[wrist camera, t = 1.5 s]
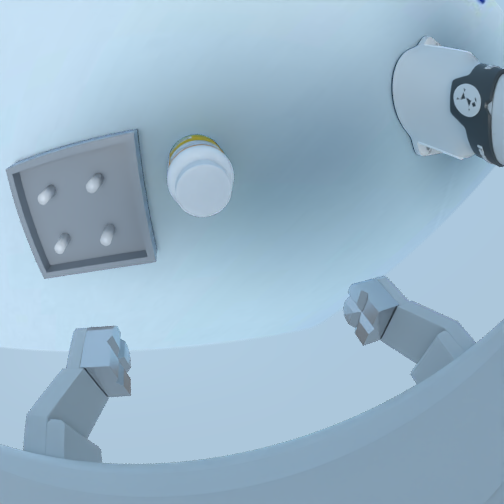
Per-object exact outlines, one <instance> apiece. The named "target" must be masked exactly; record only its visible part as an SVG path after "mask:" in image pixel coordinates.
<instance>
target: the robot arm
mask: <svg viewBox="0 0 504 504" xmlns="http://www.w3.org/2000/svg"><path fill="white" fill-rule="evenodd" d="M393 100H394V105H395V109H396V112H397V115H398V118H399V120H400V122H401V124H402V126H403V127H404V129H405V130H406V131H407V133H408V134H409V135H410V137H411V139H412V143H413V147H414V150H415V152H416V154H417V155H420V156H428V155H434V154H440V153H445V154H447V155H450V156H452V157H455V158H457V159H460V160H463V158H469V157H471V156H473V155H477V156H478V157H480V158H482V159H484V160H485V161H487V162H489V163H491V164H495V165H497V166H499V167H503V166H504V69H502V68H500V67H498V66H494V65H486V64H481V63H480V62H479V61H478V59H477V58H476V57H475V56H473V54H472V53H471V52H469V51H465V50H460V49H455V48H449V47H443V46H441V45H440V44H439V43H438V42H437V41H436V40H435V39H433V38H432V37H427V36H424V37H423V38H422V39H421V41H420V42H419V44H418V45H417V46H416V47H414V48H411V49H409V50H407V51H406V52H405V53H404V54H403V55H402V56H401V57H400V59H399V60H398V62H397V65H396V68H395V71H394V76H393ZM348 294H349V295H350V296H349V297H348V298H347V300H346V301H345V303H344V307H343V310H344V316H345V318H346V321H347V322H348V324H349V325H351V326H353V327H355V334H356V335H357V337H358V338H359V340H360V341H361V343H362V344H363V346H364V345H366V344H369V343H372V342H375V341H378V340H381V341H382V342H384V343H385V344H387V345H388V346H390V347H391V348H393V349H395V350H396V351H398V352H399V353H401V354H402V355H404V356H405V357H407V358H409V359H410V360H412V361H413V362H415V363H416V364H417V365H416V366H415V367H414V368H413V370H412V371H411V376H412V378H413V379H414V381H415V382H416V384H417V385H415V386H413V387H412V388H410V389H408V390H406V391H404V392H403V393H401V394H399V395H397V396H395V397H394V398H392V399H390V400H388V401H386V402H384V403H382V404H380V405H378V406H376V407H374V408H372V409H370V410H368V411H366V412H363V413H361V414H359V415H357V416H355V417H352V418H350V419H348V420H345V421H343V422H341V423H338V424H335V425H333V426H330V427H328V428H325V429H322V430H320V431H317V432H314V433H311V434H308V435H305V436H302V437H299V438H296V439H293V440H290V441H286V442H283V443H279V444H276V445H272V446H268V447H264V448H261V449H256V450H252V451H247V452H243V453H238V454H232V455H227V456H222V457H215V458H209V459H201V460H193V461H184V462H172V463H156V464H112V463H102V457H101V449H100V448H99V447H98V446H97V445H95V444H94V443H92V442H91V441H89V440H88V437H89V434H90V433H91V431H92V428H93V427H94V425H95V423H96V421H97V419H98V417H99V415H100V414H101V412H102V410H103V408H104V406H105V404H106V402H107V401H108V397H119V396H130V395H131V379H130V377H129V376H128V374H127V372H128V371H129V369H130V368H131V360H130V353H129V350H128V346H127V344H126V342H125V341H123V340H122V339H120V336H121V332H120V331H119V329H118V327H117V326H105V327H90V328H78V329H75V331H74V332H73V336H72V341H71V345H70V350H69V355H68V361H67V366H66V369H62V370H61V371H60V372H59V374H58V375H57V376H56V377H55V379H54V380H53V381H52V382H51V384H50V385H49V386H48V387H47V389H46V390H45V391H44V392H43V394H42V395H41V396H40V398H39V399H38V400H37V401H36V403H35V404H34V406H33V407H32V408H31V409H30V411H29V412H28V414H27V416H26V424H25V433H24V446H23V447H24V448H23V450H19V449H16V448H12V447H9V446H5V445H2V444H0V504H504V319H503V320H502V321H501V322H500V323H499V324H498V325H497V326H495V327H494V328H493V329H492V330H491V331H490V332H489V333H487V334H486V335H485V336H484V337H483V338H482V339H480V340H479V341H478V342H477V343H476V342H475V341H474V340H473V338H472V337H471V336H470V335H469V334H468V332H467V331H466V330H465V329H464V328H463V327H462V325H461V324H460V323H459V322H458V321H456V320H454V319H452V318H449V317H447V316H445V315H443V314H440V313H438V312H436V311H434V310H432V309H429V308H427V307H425V306H423V305H421V304H419V303H416V302H414V301H409V300H408V299H407V298H406V297H405V296H404V295H403V294H402V293H401V292H400V290H399V289H398V288H397V287H396V286H395V285H394V284H393V283H392V282H391V281H390V280H389V279H388V278H387V277H385V276H381V277H377V278H373V279H369V280H365V281H362V282H358V283H354V284H352V285H351V286H350V287H349V290H348Z"/></svg>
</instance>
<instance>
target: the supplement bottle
mask: <svg viewBox="0 0 504 504" xmlns="http://www.w3.org/2000/svg"><path fill="white" fill-rule="evenodd" d="M233 183H234V171H233V167H232V164H231V162H230V161H229V159H228V158H227V156H226V155H225V154H224V152H223V151H222V150H221V149H220V147H219V146H218V145H217V144H216V143H215V142H214V141H213V140H212V139H210V138H209V137H206V136H204V135H198V134H195V135H189V136H186V137H184V138H182V139H180V140H179V141H178V142H177V143H176V144H175V145H174V146H173V148H172V150H171V152H170V155H169V160H168V170H167V186H168V189H169V192H170V194H171V196H172V197H173V199H174V200H175V201H176V202H177V203H178V204H179V206H180V207H181V208H182V209H183V210H184V211H185V212H186V213H188V214H190V215H192V216H195V217H209V216H212V215H215V214H217V213H219V212H220V211H221V210H223V209H224V208H225V206H226V205H227V204H228V202H229V200H230V198H231V194H232V187H233Z"/></svg>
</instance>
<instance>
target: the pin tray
mask: <svg viewBox="0 0 504 504" xmlns="http://www.w3.org/2000/svg"><path fill="white" fill-rule="evenodd" d="M6 173H7V177H8V181H9V185H10V189H11V192H12V196H13V199H14V203H15V206H16V209H17V212H18V215H19V218H20V221H21V224H22V227H23V230H24V232H25V235H26V238H27V240H28V243H29V245H30V248H31V250H32V253H33V255H34V257H35V260H36V262H37V264H38V266H39V269H40V271H41V273H42V275H43V277H44V279H46V278H53V277H59V276H66V275H72V274H79V273H86V272H92V271H99V270H105V269H112V268H119V267H125V266H132V265H139V264H145V263H152V262H156V254H157V248H156V244H155V239H154V234H153V229H152V224H151V219H150V214H149V208H148V203H147V197H146V191H145V185H144V178H143V171H142V164H141V157H140V149H139V140H138V131H137V129H134V130H129V131H124V132H119V133H114V134H109V135H105V136H101V137H96V138H92V139H88V140H84V141H81V142H77V143H73V144H70V145H66V146H63V147H60V148H56V149H53V150H50V151H47V152H44V153H41V154H38V155H35V156H32V157H30V158H27V159H24V160H22V161H19V162H16V163H15V164H13V165H12V166H10V167H9V168H7V169H6Z"/></svg>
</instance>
